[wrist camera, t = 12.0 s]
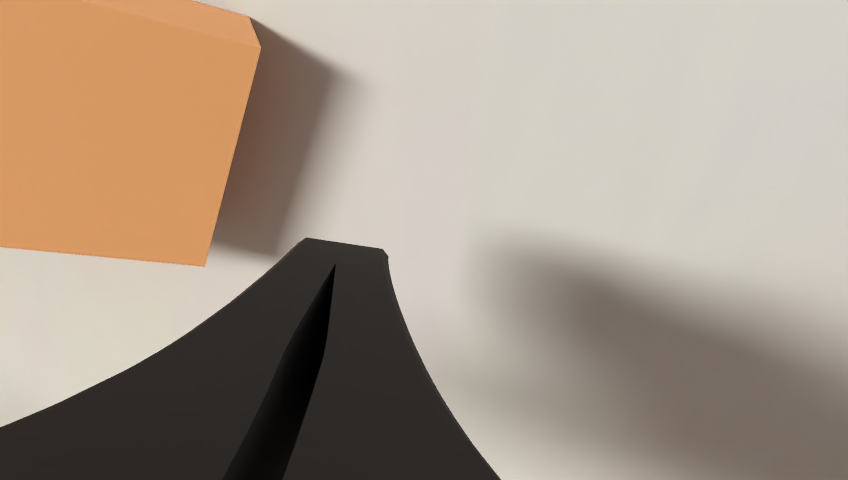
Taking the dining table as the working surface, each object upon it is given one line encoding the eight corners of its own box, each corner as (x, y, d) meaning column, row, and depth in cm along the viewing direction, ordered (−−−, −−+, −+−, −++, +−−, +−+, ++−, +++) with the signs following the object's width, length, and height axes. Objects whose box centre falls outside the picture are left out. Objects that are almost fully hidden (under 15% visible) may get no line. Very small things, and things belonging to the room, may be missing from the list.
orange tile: (261, 48, 12) (-335, -109, 8) (204, 266, 14) (-277, 220, 10) (248, 17, 13) (-267, -130, 9) (199, 220, 15) (-229, 165, 12)
